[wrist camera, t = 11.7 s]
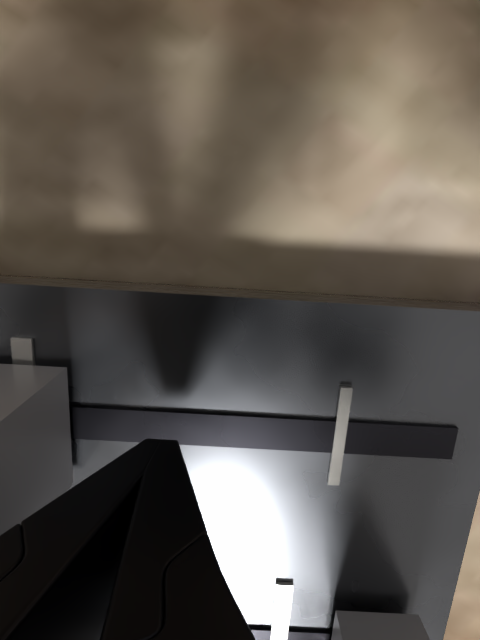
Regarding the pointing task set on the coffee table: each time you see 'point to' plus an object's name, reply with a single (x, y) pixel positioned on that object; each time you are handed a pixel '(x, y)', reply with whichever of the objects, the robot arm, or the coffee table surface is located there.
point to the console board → (282, 430)
